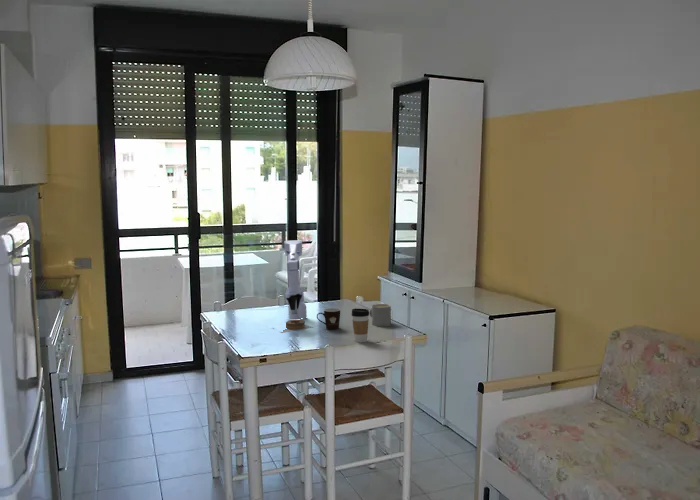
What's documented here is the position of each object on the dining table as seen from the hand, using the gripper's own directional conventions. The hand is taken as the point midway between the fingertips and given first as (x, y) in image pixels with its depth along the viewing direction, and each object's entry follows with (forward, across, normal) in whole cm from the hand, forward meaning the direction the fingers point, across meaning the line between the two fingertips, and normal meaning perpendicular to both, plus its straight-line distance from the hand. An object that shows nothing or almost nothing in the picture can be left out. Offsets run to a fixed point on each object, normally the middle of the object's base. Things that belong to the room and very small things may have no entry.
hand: (294, 309), depth 299 cm
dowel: (+2, 0, 0) cm, 3 cm away
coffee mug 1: (+10, -5, +18) cm, 21 cm away
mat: (+10, 0, -3) cm, 10 cm away
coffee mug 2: (+10, -24, +38) cm, 46 cm away
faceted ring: (+10, 0, 0) cm, 10 cm away
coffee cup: (+10, +11, +42) cm, 45 cm away
